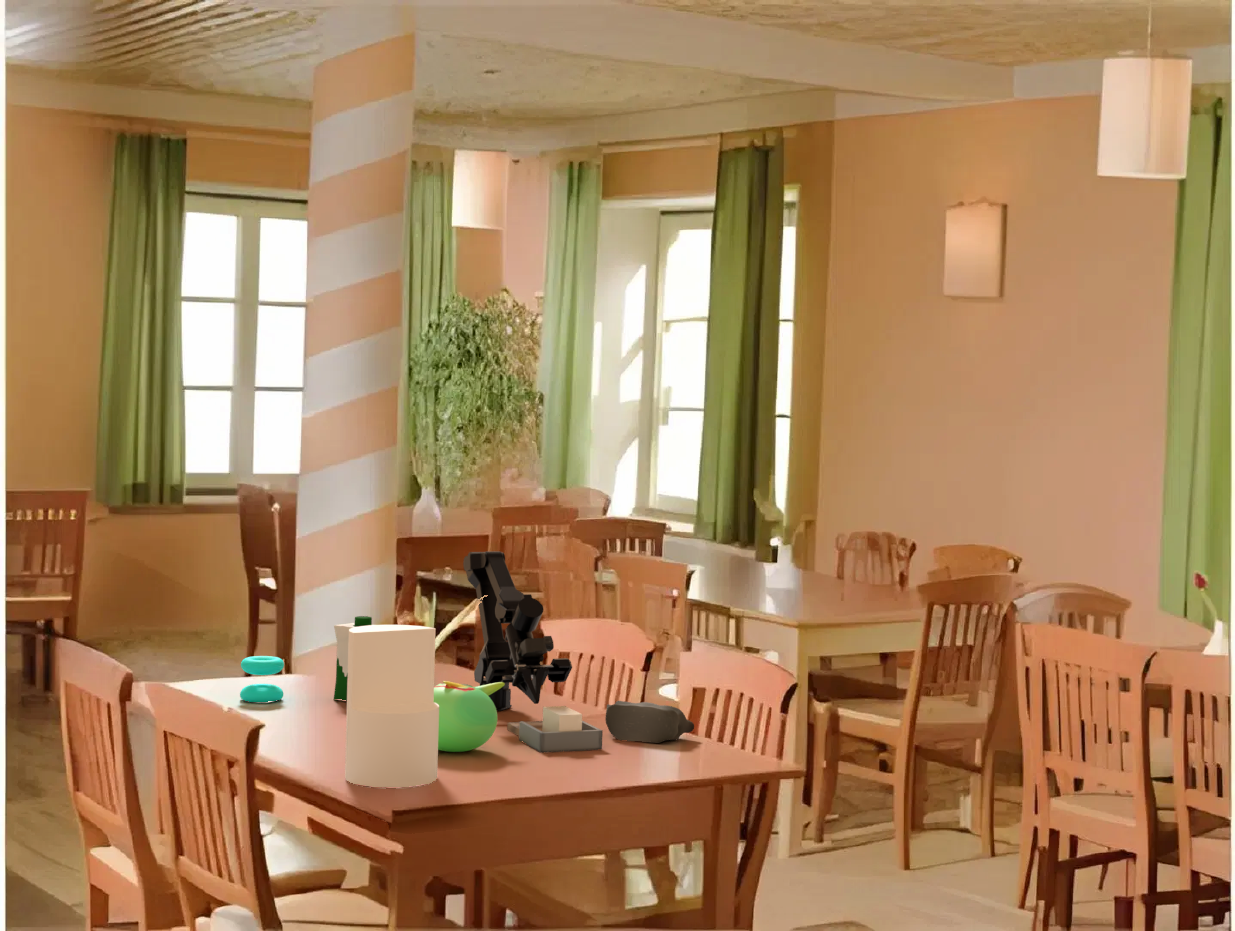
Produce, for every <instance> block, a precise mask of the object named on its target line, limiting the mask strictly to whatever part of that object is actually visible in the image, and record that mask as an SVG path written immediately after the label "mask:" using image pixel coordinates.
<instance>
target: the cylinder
mask: <svg viewBox="0 0 1235 931" xmlns="http://www.w3.org/2000/svg"><path fill="white" fill-rule="evenodd" d="M436 630H437V629H436V628H435V627H431V626H423V625H410V624H373V625H368V626H359V627H354V628H351V629H349V643H348V680H347V702H346V720H345V721H346V726H345V729H346V730H345V757H344V758H345V759H344V760H345V761H344V763H345V765H344V779H345V778H346V780H347V781H349V782H350V783H349V782H348V783H349V784H351V783H353V784H352V785H354V784H360V785H366V786H372V787H409V786H416V785H421V784H428V785H430V784H429V783H431V784H433V783H434V782H433V781H435V780H436V778H437V779H438V763H439V760H438V758H439V756H438V755H439V750H438V733H439V705H438V704H437V703H434V686H435V667H436V664H435V663H436V662H435V661H436V658H435V657H436ZM346 780H345V781H346ZM347 781H346V782H347ZM436 781H437V780H436ZM436 781H435V782H436ZM432 782H433V783H432Z"/></svg>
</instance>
